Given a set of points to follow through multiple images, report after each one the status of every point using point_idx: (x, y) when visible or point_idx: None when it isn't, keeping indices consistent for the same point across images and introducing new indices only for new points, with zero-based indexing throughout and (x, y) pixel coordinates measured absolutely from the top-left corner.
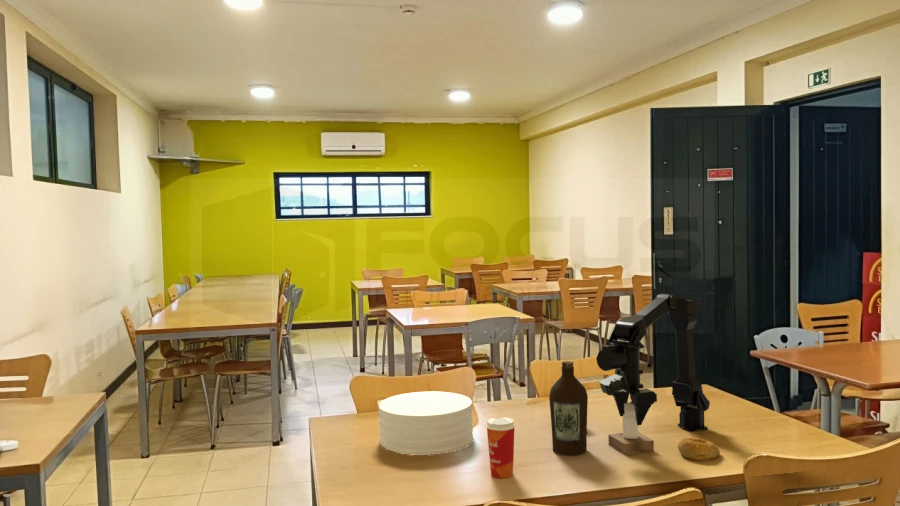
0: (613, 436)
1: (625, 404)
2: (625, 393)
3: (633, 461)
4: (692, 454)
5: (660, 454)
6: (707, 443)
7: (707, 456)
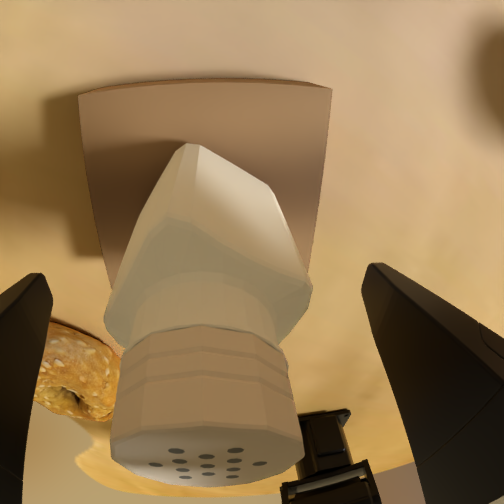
0: (273, 95)
1: (195, 432)
2: (453, 498)
3: (10, 99)
4: None
5: (79, 262)
6: (63, 408)
7: None
